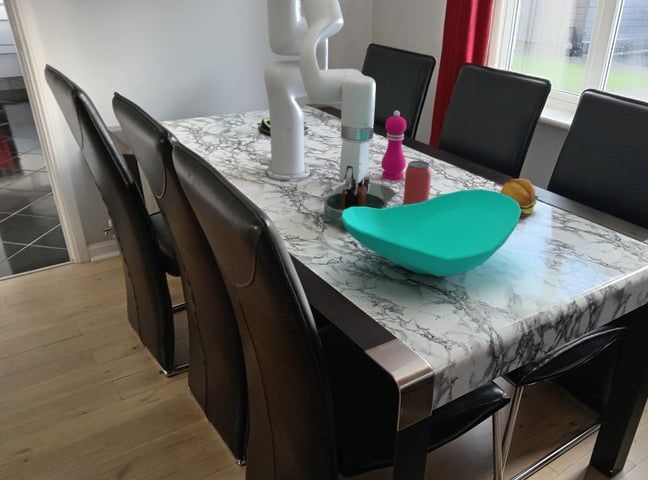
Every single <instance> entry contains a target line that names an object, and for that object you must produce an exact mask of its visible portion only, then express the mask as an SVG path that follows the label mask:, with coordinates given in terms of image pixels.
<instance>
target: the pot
mask: <svg viewBox="0 0 648 480" xmlns="http://www.w3.org/2000/svg"><path fill="white" fill-rule="evenodd" d="M342 193H343V192H339V193H335V192H334V193H331V194H329V195H327V196H326V197H325V198H324V199H323V220H324V221H325V222H326V223H328V224H329V225H330V226H333V227H336V228H338V229H344V230H347V229H346V228H345V226H344V224H343V221H342V218H341V216H342V212H343V211H341V210H338V209H340V208H341V209H342ZM365 207H370V208H376V209H384V208H388V202H386V201H385V199H383V198H381V197H380V196H378V195H375V194H371V192H368V191H366V206H365Z"/></svg>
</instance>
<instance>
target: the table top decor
mask: <svg viewBox="0 0 648 480" xmlns="http://www.w3.org/2000/svg"><path fill="white" fill-rule="evenodd" d="M341 212H342V216H341V218H342V221H343V224H344V226H345V228H346V229H345V230H346V231H347V233H348V234H349V235H350V236H351V237H353V238H354V239H355V241H357V243H360V244H361V245H363V246H364V247H366V248H367V249H369V250H371V251H373V252H374V253H376V254H378V255H379V256H381V257H383V258H384V259H386V260H388V261H391V262H392V263H394V264H397V265H398V266H401V267H402V268H405V269H407V270H408V271H411V272H413V273H414V274H415V273H416V274H420V275H432V276H434V277H447V276H457V275H459V274H462V273H465V272H467V271H470V270H473V269H475V268H477V267H479V266H481V265H483V264H484V263H485V262H487V261H488V260H489V259H490V258H491V257H492V256H493V255H494V254H495V253H496V252H497V251H498V250H499V249H500V248H502V247H503V246H504V245H505V244H506V243H507V241H508V239H509V238H510V236H511V235H512V233H513V232H514V231H515V229H516V227H517V225H518V224H519V222H520V217H521V216H520V214H521V209H520V207H519V204H518V202H516V201H515V200H513V199H512V198H511V197H509V196H507V195H504V194H501V192H499V191H495V190H488V189H483V188H476V189H475V188H474V189H463V190H462V189H461V190H456V191H453V192H448V193H444V194H440V195H437V196H435V197H432V198H429V200H426V201H424V202H421V203H416V204H408V205H403V204H401V205H394V206H389V207H387V208H384V209H376V208H370V207H350V208H347V209H342V211H341Z"/></svg>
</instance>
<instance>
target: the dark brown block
mask: <svg viewBox="0 0 648 480" xmlns="http://www.w3.org/2000/svg"><path fill="white" fill-rule="evenodd" d="M352 186H353V187H355V185H352ZM366 191H367V187H362V186H358V191H357V194H358V195H359V196H358V207H365V206H366ZM341 209H342V210H345V188H344V189H343V193H342V208H341Z"/></svg>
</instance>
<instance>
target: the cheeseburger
mask: <svg viewBox="0 0 648 480" xmlns="http://www.w3.org/2000/svg"><path fill="white" fill-rule="evenodd" d="M500 193H501V194H504V195H507V196H509V197H511V198H512V199H513V200H515V201H516V202H518V204H519V207H520V209H521V214H520V217H527V216H530V215H532V213H534V209H535V206H536V204H537V203H538V202H537V200H538V199H539V196H538V195H536V190H535V188H534V185H533V183H532V182H531V181H530V180H528V179H525V178H514V179H509V180H507V181H506V182H505V183H504V184H503V186H502V188H501V190H500Z"/></svg>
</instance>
